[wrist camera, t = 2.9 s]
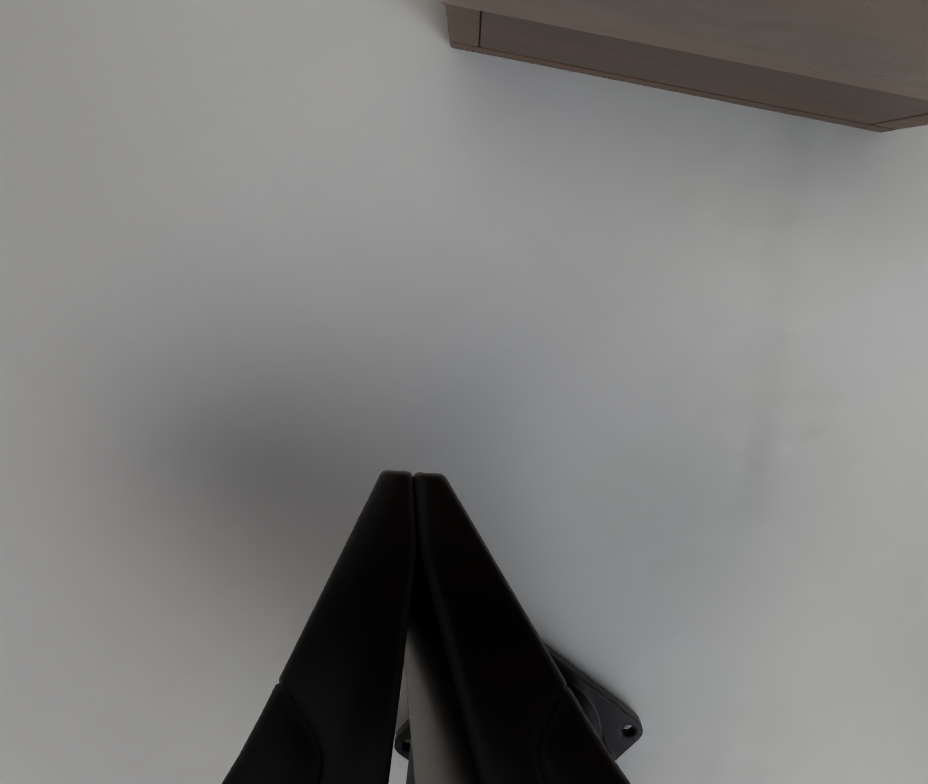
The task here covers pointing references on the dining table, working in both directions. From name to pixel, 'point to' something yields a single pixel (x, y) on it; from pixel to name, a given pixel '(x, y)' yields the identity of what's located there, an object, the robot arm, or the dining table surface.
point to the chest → (682, 71)
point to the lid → (761, 33)
